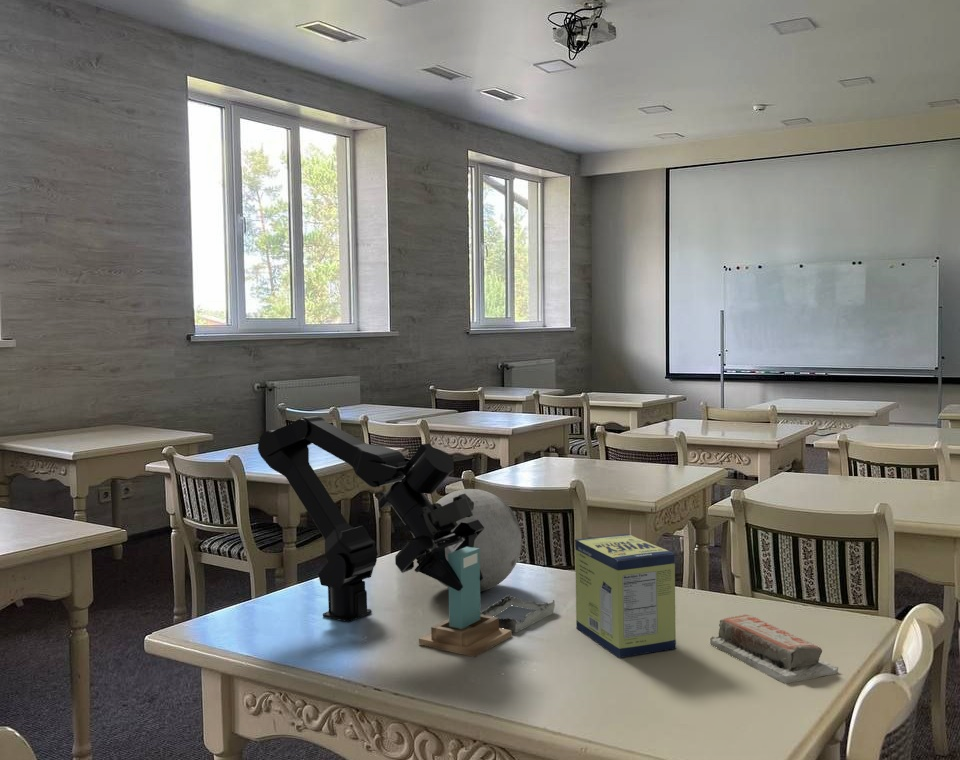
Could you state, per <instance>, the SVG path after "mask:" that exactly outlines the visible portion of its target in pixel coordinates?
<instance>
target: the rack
mask: <svg viewBox="0 0 960 760" xmlns="http://www.w3.org/2000/svg"><path fill="white" fill-rule="evenodd" d="M499 619H500V617H496V616H494V617H492V616H486V615H481V620H479V621H477V622H475V623H473V624H471V625H469V626H467V627H465V628H463V629H459V628H455V627H450V626H449V618H447V619H446V620H443V621H442V622H439V623H437V624H435V625H433V626H431V627H430V632H429V633H427V634H425V635H424V636H423V635H422V636H421V637H419V638H418V645H419V644H421V645H420V646H423V645H425V646H424V647H428V646H429V648H432V647H434V648H433V649H438V650H442V651H447V652H451V653H455V654H460V655H465V656H469V657H472V658H473V657H474V658H476V657H478V656H479V655H481V654H483V653H485V652H486V651H488V650H490V649H491V648H493V646H494V647H495V646H497V645H499V644H501V643H502V642H504V641H506V640H508V639H509V638H511V637H512V632H513V631H511V630H507V629H502V628H499ZM500 642H501V643H500ZM484 651H485V652H484Z"/></svg>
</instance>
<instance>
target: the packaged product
mask: <svg viewBox="0 0 960 760" xmlns="http://www.w3.org/2000/svg"><path fill="white" fill-rule="evenodd" d="M718 626H719V629H718V636H711V637H710V642H709V644H711V645H710V646H712V645H713V646H712V647H714V646H715V647H714V648H716V647H717V648H716V649H718V648H719V649H718V650H720V649H721V650H720V651H722V650H723V651H724V653H725V652H726V653H725V654H727V653H728V654H727V655H729V654H730V655H731V656H730V655H729V656H730V657H732V656H733V657H732V658H734V657H735V658H734V659H736V658H737V659H736V660H738V659H739V660H738V661H740V660H741V661H742V663H743V662H744V663H743V664H745V663H746V665H748V666H750V668H752V669H755V670H757V671H758V670H759V671H758V672H760V673H762V674H764V673H765V675H766V674H767V676H768V675H769V676H768V677H770V676H771V677H770V678H772V677H773V679H774V680H777V681H778V680H779V682H780V681H781V683H782V684H785V683H786V684H790V683H797V682H801V681H806V680H811V679H817V678H821V677H824V676H831V675H834V674H838V672H839V667H838V666H835V665H832V664H830V663H829V662H827V661H824V660H821V659H820V657H821V655H822V654H823V653H822V652H823V649H822V648H821V647H820V646H818V645H816V644H814V643H812V642H810V641H808V640H806V639H803V638H801V637H799V636H797V635H794V634H792V633H790V632H788V631H786V630H784V629H782V628H780V627H777V626H775V625H774V624H771V623H769V622H767V621H765V620H762V619H760V618H758V617H756V616H754V615H749V614H742V615H736V616H729V617H725V618H722V619H720V620H719V625H718ZM723 651H722V652H723ZM741 661H740V662H741Z"/></svg>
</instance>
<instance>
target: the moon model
mask: <svg viewBox="0 0 960 760" xmlns="http://www.w3.org/2000/svg"><path fill="white" fill-rule="evenodd" d="M461 494H466V495H467V496H468V497H469V498H470V499H471V501H473V502H474V509H473V510H472V514H473V516H471V517H465V518H463V519H461V520H459V521H456V523H457V524H458V525H459V524H460V523H461V522H464V521H467V520H470V519H477V520H479V521H480V523H481V524H482V525H483V527H484V530H483V531H482V532H481V533H480V534H479V535H478V536H477V538H476V539H475V541H474V548H480V570H481V573H482V576H483V579H482V580H481V581H480V592H484V591H487V590H488V591H489V590H490V589H492V588H494V587H496V586H498V585H500V584H501V583H502V582H503V581H504V580H506V579H507V578H508V576H509V575H510V574H511V573H512V572H513V570H514V569H515V566H517V563H518V561H519V558H520V555H521V551H522V541H523V540H522V531H521V527H520V523H519V521H518V518H517V517H516V515H515V513H514V511H513V510H512V509H511V507H510V506H509V505H508V504H507V503H506V501H504V500H503V499H502V498H501V497H499V496H497V495H496V494H493V493H491V492H489V491H486V490H483V489H478V488H465V489H459V490H455V491H452V492H450V493H448V494H446V495H444V496H442V497H441V498H440V499H438V501H436V502H435V503H439V504H441V506H444V505H446V504H448V503H451V502H453V498H454V497H457V496H459V495H461ZM458 525H457V526H458ZM457 526H456V527H455V528H454V529H452V530H451V532H453V531H454V530H455V529H456V528H457ZM444 542H445V541H444ZM449 553H451V551H450V549H449V548H448V547H446V548H445V557H446V559H447V561H448V554H449ZM438 582H439V583H441V584H442V585H443V586H445V587H447V588H448V589H449V586H448V585H446V584H444V583H442V582H440V581H438Z"/></svg>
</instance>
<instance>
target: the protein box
mask: <svg viewBox="0 0 960 760" xmlns="http://www.w3.org/2000/svg"><path fill="white" fill-rule="evenodd" d="M574 542H575V545H574V548H575V549H574V551H575V555H574V556H575V612H576V613H575V615H576V616H575V617H576V619H575V620H576V630H578V631H580V632H581V633H583V635H586V636H587V637H588V638H590V639H592V641H594V642H595V643H597V644H598V645H599V646H601V647H603V648H604V649H606V650H607V651H608V652H610V653H611V654H613V655H614V656H616V657H617V658H619V657H620V658H625V657H631V656H638V655H642V654H644V655H645V654H651V653H656V652H663V650H664V651H668V650H669V649H670V650H674V649H677V639H676V633H677V632H676V571H675V570H676V566H675V565H676V564H675V561H676V559H675V556H676V555H675V553H674V552H673V551H671V550H668V549H665V548H662V547H660V546H658V545H655V544H652V543H651V542H648V541H645V540H643V539H640V538H638V537H636V536H634V535H631V534H629V533H624V534H614V535H606V536H597V537H596V536H595V537H588V538H576V539H574Z"/></svg>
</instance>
